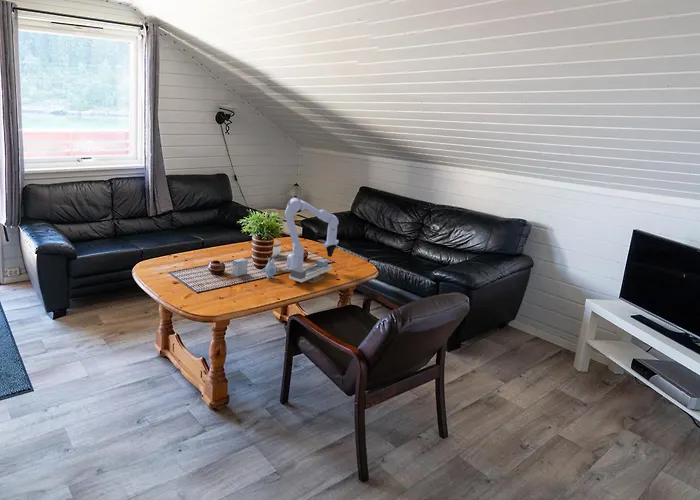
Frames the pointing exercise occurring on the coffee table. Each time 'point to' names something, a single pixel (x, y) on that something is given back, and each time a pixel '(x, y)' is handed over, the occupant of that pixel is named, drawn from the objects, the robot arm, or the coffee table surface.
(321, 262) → the rider
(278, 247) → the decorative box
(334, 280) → the coffee table surface
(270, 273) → the toy figure
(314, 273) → the balance beam
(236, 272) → the medicine box
